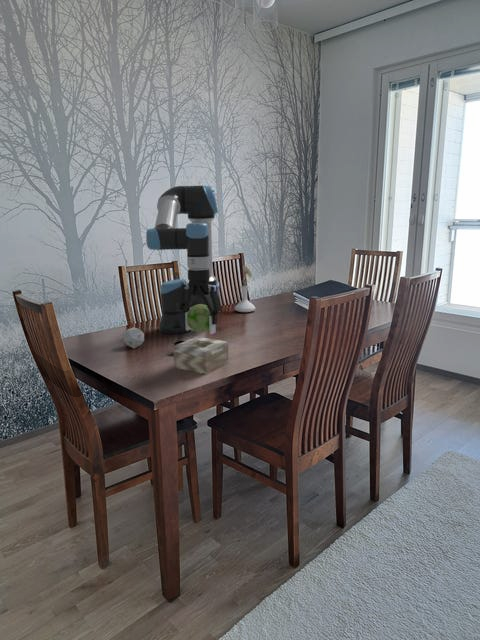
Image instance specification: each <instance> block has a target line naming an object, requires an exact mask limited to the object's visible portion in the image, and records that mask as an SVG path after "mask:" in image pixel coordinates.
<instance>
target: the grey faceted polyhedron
mask: <svg viewBox="0 0 480 640" xmlns="http://www.w3.org/2000/svg"><path fill="white" fill-rule="evenodd" d="M144 342H145V333H144V332H143V331H142V330H141V329H140V328H137V327H135V326H132V327H131V328H127V329H126V330H125V332H124V334H123V343H124V344H125V345H127V346H128V347H130V348H132V349H134V350H135V349H137V348H139V347H140V346H142V344H143V343H144Z"/></svg>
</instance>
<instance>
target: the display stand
mask: <svg viewBox="0 0 480 640" xmlns="http://www.w3.org/2000/svg"><path fill="white" fill-rule="evenodd" d="M184 341H185V342H183V343H180V344H178V345H175V346H174V345H173V348H172V349H173V352H174V356H173V367H174V368H175V369H180V370H183V371H184V370H185V371H188V370H189V372H193V371H194V372H193V373H198V372H199V373H198V374H202V373H204V374H203V375H207V373H208V374H210V373H212V372H213V370H214V371H215V369H216V370H217V369H219V368H221V367H223V366H225V365H226V363H227V364H229V341H225V340H220V339H213V338H208V337H207V338H206V337H201V336H195V337H193V338H191V339H188V340H184ZM224 364H225V365H224ZM222 365H223V366H222ZM220 366H221V367H220ZM211 371H212V372H211ZM209 372H210V373H209Z"/></svg>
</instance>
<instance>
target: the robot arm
mask: <svg viewBox="0 0 480 640" xmlns="http://www.w3.org/2000/svg"><path fill="white" fill-rule="evenodd" d="M156 205H157V206H156V207H157V209H156V210H158V211H157V215H156V219H155V224H154V227H153V228H147V230H146V234H145V235H146V236H145V237H146V247H147V248H148V249H149V250H151V251H152V250H153V251H162V250H166V251H167V250H186V253H187V254H186V256H187V257H186V258H187V268H188V270H187V280H188V282H187V280H186V279H184V278H182V279H181V278H178V279H177V278H176V279H172V280H171V279H170V280H168V281H165V282H163V283H161V285H160V298H161V317H160V321H159V324H158V331H159V332H160V334H161V333H162V334H166V335H168V334H169V335H178V334H185V333H188V332H190V331H193V329H191V327H190V326H189V325H188V323H187V313H188V311H189V310H190V309H191V308H192V307H193V306H194V305H198V304H204V305H207V307H208V309H209V311H210V314H211V315H210V316H209V330H208V332H209V335H213V334H215V333H217V332H216V331H217V327H216V325H217V323H218V315H220V314H222V313H223V310H222V306H221V302H220V298H219V296H220V295H219V293H220V282H219V281H217V278H216V276H215V275H214V273H213V245H212V243H213V242H212V241H213V240H212V236H213V235H212V221H213V220H214V219H215V215H216V214H218V206H217V200H216V193H215V188H214V186H211V185H177V186H173V187H171V188H168V190H165V191H164V192H163V193H162V194H161V195H160V196H159V198H158V200H157V204H156ZM178 215H187V220H189V221H190V223H187V224H186V227H180V228H179V227H178V228H177V227H176V225H177V224H176V223H177V218H178V217H177V216H178Z"/></svg>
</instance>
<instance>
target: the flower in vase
mask: <svg viewBox="0 0 480 640" xmlns="http://www.w3.org/2000/svg"><path fill="white" fill-rule="evenodd" d="M242 269H243V271H244V275H243V279H242V284H243V285H240V287H239V288H241V291H242V300H241V301H239V303H237V305H236V306H234V310H235V311H236V312H239V313H249V312H254V311H256V307H255V305H254V304H253V303H251V302H250V301H249V300H248V290H249V288H250V285H245V284H246V283H247V282H248V280H245V276H246V275H247V276H248V277H249V278H252V277H253V274H252V271H251V270H250V269H249V267H248V266H247V265H242Z"/></svg>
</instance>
